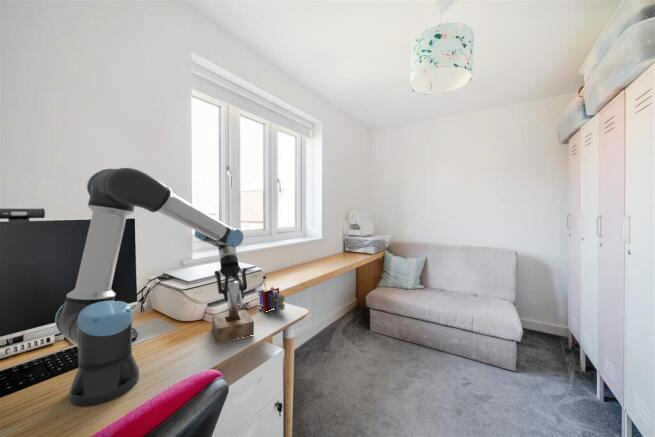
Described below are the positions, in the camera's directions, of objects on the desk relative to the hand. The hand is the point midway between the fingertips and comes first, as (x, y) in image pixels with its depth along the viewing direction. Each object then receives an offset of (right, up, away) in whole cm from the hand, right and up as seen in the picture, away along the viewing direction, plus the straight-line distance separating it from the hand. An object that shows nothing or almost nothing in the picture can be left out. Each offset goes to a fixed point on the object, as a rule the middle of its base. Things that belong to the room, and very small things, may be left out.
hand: (235, 306), depth 105 cm
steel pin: (-2, -4, +3) cm, 6 cm away
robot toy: (+8, -11, +28) cm, 31 cm away
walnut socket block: (-3, -12, +3) cm, 13 cm away
